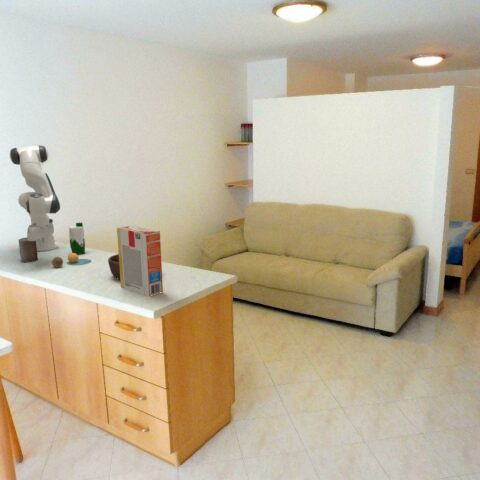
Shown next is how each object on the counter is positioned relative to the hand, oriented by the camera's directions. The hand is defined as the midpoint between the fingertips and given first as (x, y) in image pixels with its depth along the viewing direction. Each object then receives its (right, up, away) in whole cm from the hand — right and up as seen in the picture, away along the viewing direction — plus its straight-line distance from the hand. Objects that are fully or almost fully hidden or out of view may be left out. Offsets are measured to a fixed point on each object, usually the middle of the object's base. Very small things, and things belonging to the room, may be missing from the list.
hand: (42, 245), depth 267 cm
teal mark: (+18, -10, +10) cm, 23 cm away
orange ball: (+15, -8, +7) cm, 19 cm away
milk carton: (+10, -6, +32) cm, 34 cm away
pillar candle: (-15, -10, +15) cm, 23 cm away
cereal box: (+67, -22, -43) cm, 83 cm away
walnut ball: (+9, -10, -2) cm, 14 cm away
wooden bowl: (+58, -16, -19) cm, 63 cm away
